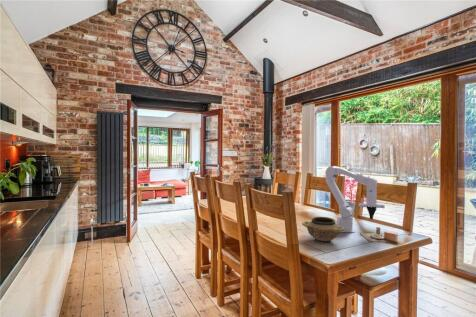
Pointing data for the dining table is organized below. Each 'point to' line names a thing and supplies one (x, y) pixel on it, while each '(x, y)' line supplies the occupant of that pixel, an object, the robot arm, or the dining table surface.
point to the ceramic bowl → (323, 229)
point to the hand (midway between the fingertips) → (371, 218)
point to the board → (370, 239)
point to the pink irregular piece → (386, 236)
